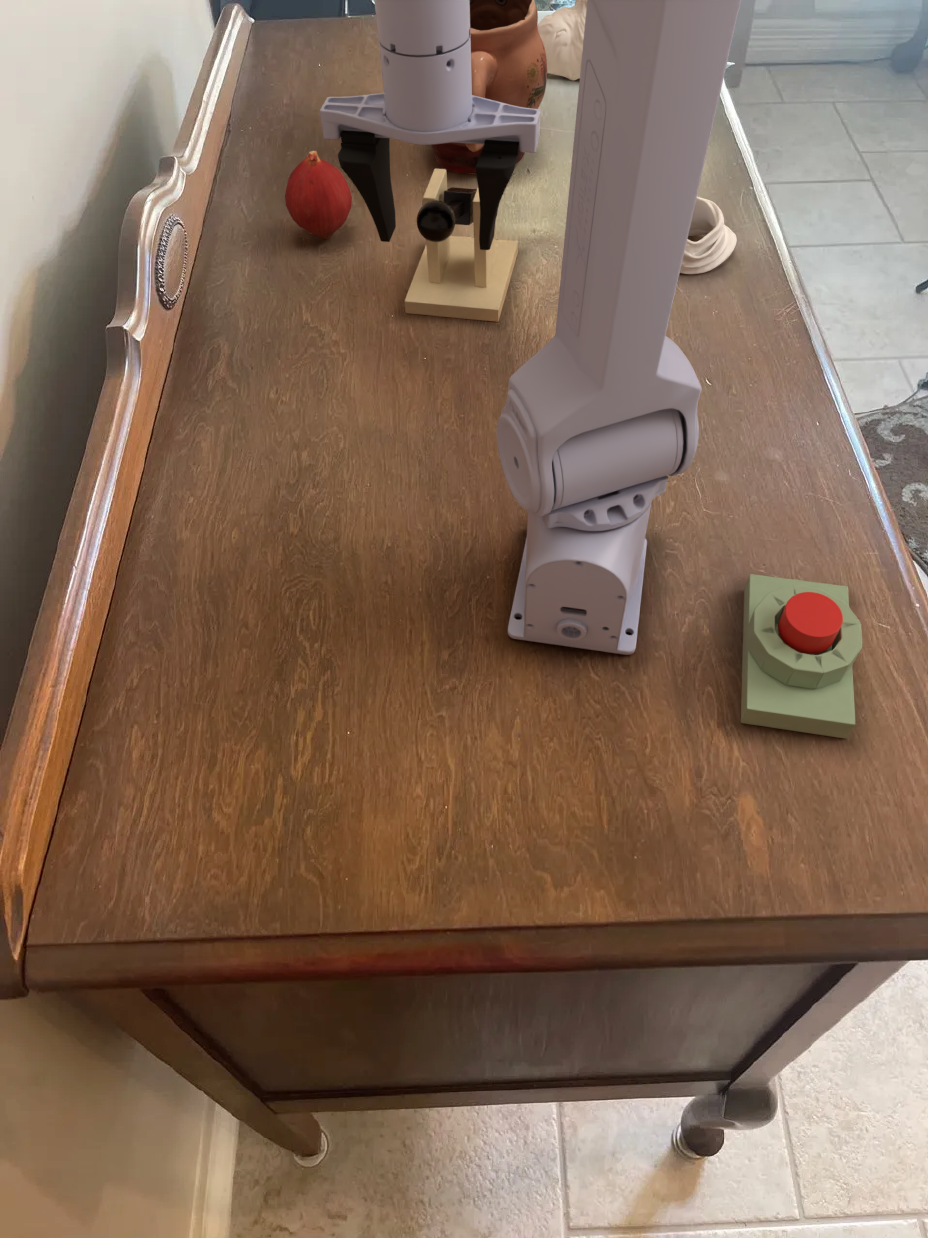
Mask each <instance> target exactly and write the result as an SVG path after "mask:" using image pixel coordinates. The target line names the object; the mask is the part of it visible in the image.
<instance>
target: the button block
mask: <svg viewBox="0 0 928 1238" xmlns="http://www.w3.org/2000/svg"><path fill="white" fill-rule="evenodd" d="M803 592H815V593H819V594H822V595H825V596H827V597H828V598H830V599H832V600H833V601H834V602H835V603H836V604H837V605H838V606H839V608H840V610H841V612H842V615H843V623H842V626H841V628H840V630H839V632H838V634H837V636H836V638H835V640H834V641H833V643H832V645H831V646H830V647H829V648H828V649H827V650H825V651H823V652H820V653H816V654H806V653H802V652H798V651H796V650H794V649H792V648H791V647H789V646H788V645H787V644H786V643H785V642H784V641H783V640H782V638H781V637H780V634H779V631H778V623H779V620H780V618H781V615H782V613H783V611H784V608H785V606H786V604H787V602H788V600H789V599H790V598H791V597H793V596H794V595H796V594H799V593H803ZM849 598H850V597H849V587H848V586H847V585H840V584H831V583H824V582H816V581H809V580H802V579H795V578H784V577H777V576H769V575H762V574H753V573H749V575H748V578H747V581H746V583H745V587H744V590H743V617H742V618H743V620H742V623H743V624H742V657H741V659H742V660H741V694H740V695H741V698H740V723H741V724H745V725H752V726H759V727H766V728H773V729H780V730H786V731H792V732H800V733H806V734H812V735H820V736H824V737H825V736H827V737H832V738H833V737H834V738H838V739H839V738H840V739H845V740H846V739H848V737H849V736H850V734H851V733H852V731H853V729H854V728H855V726H856V708H855V707H856V706H855V691H854V675H853V674H854V672H853V665H854V663H855V661H856V659H857V658H858V657H859V654H860V653H861V651H862V649H863V633H862V632H863V631H862V622H861V621H860V620H859V618H858V617H857V616H856V614H855V613H854V611H853V610H852V608H850V601H849V600H850V599H849Z"/></svg>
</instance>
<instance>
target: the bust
mask: <svg viewBox="0 0 928 1238" xmlns="http://www.w3.org/2000/svg"><path fill="white" fill-rule="evenodd" d="M586 9H587V0H575V1H574V5H573V6H571V7H569V6H566V7H565V6H564V7H561V8H559V9H557V10H555V11H554V12H552V14H548V15H546V16H544V17H543V18H542V19H541V20H540V22H539V23H537V25H538V32H539V35H540V37H541V39H542V41H543V44H544V47H545V51H546V58H547V74H548V75H549V74H550V75H554V76H561V77H565V78H566V79H568V80H570V81H576V80H580V71H581V61H582V51H583V40H584V30H585V19H586Z"/></svg>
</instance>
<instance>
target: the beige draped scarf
mask: <svg viewBox="0 0 928 1238" xmlns="http://www.w3.org/2000/svg"><path fill="white" fill-rule="evenodd" d="M694 236H695V237H696V236H703V237H702V238H700V239H699V240H698V241H692V240H691V239H689V238H687V243H686V247H685V251H684V256H683V260H682V265H681V269H680V274H683V275H698V274H703V273H707V272H711V271H712V270H714V269H716V268H718V267H719V266H720V265H721V264H722V263H724V262H725V261H726V260H727V259H728V258H729V257H730V256H731V255H732V254H733V252H734V250H735V248H736V246H737V243H738V240H737V235H736V233H735V232H733V231H732V229H731V228H729V226H727V225H726V224H725V217H724V213H723V211H722V210H721V208H720V207H719V206H718V204H716V203H715V202H714V201H712V200H711V199H708V198H703V197H701V196H697V198H696V203H695V207H694V212H693V216H692V220H691V225H690V229H689V234H688V237H694Z"/></svg>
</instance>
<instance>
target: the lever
mask: <svg viewBox="0 0 928 1238" xmlns="http://www.w3.org/2000/svg"><path fill="white" fill-rule="evenodd" d="M476 191H477V188H467V187H455V186H450V187H449V188H447V190H445V191H444V202H442V201H438V200H434V201H429V202H427V203H426V204H424V205H423V206H422V205H421V207H420V208H419V211H418V213H417V216H416V227H417V230H418V232H419V234H420V235H421V236H422V238H424V239H425V241H426V240H428V241H431V242H442V241H444V240H446V239H447V238H448V237H449V236H452V234H453V232H454V230H455V227H456V225H458V226H471V225H473V200H474V197H475V194H476Z"/></svg>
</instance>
